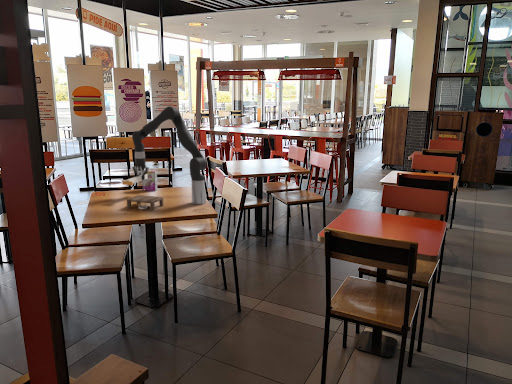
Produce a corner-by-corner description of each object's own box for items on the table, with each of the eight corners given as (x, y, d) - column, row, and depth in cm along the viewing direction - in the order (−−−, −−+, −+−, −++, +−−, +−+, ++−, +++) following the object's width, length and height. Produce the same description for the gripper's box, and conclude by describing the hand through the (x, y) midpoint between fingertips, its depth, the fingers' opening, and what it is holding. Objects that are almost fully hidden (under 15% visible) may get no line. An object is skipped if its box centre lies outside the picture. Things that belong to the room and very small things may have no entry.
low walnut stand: (163, 205, 284) (163, 197, 283) (153, 210, 271) (152, 201, 270) (138, 203, 290) (138, 194, 288) (127, 208, 277) (126, 199, 275)
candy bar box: (142, 190, 328) (141, 170, 324) (144, 189, 333) (143, 169, 329) (155, 191, 327) (154, 171, 323) (157, 189, 332) (156, 170, 328)
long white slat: (150, 178, 314) (150, 174, 313) (132, 185, 290) (131, 180, 289) (141, 178, 316) (141, 173, 315) (122, 184, 292) (122, 179, 291)
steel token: (149, 207, 279) (149, 205, 279) (144, 210, 274) (144, 207, 273) (141, 207, 281) (141, 205, 281) (136, 209, 275) (136, 207, 275)
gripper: (150, 157, 306) (152, 179, 310) (134, 156, 310) (136, 178, 314) (145, 158, 299) (146, 181, 303) (129, 157, 303) (130, 180, 307)
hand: (141, 179), depth 308 cm, fingers closed on long white slat, 2 cm apart
